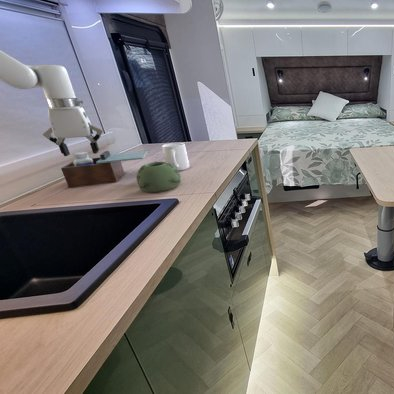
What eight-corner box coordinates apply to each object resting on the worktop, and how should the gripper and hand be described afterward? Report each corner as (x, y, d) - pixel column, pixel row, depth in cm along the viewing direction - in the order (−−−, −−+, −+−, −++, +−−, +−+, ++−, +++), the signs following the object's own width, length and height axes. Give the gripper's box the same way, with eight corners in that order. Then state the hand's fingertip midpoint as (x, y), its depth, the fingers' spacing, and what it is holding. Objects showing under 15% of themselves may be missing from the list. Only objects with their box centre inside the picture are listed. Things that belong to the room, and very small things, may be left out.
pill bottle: (101, 177, 111) (93, 152, 108) (85, 181, 106) (77, 155, 103) (91, 176, 113) (83, 151, 109) (75, 180, 108) (66, 154, 104)
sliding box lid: (96, 163, 104) (94, 157, 103) (106, 155, 115) (104, 150, 114) (142, 159, 109) (140, 152, 109) (148, 152, 120) (146, 146, 119)
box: (68, 187, 103) (60, 168, 100) (81, 177, 114) (74, 159, 111) (116, 181, 108) (110, 163, 106) (124, 172, 119) (118, 155, 116)
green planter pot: (184, 189, 100) (178, 165, 97) (139, 197, 94) (131, 171, 90) (179, 177, 113) (174, 155, 109) (140, 183, 106) (133, 160, 103)
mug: (188, 172, 119) (182, 147, 115) (164, 174, 116) (158, 149, 112) (190, 165, 129) (185, 142, 125) (169, 167, 126) (163, 143, 122)
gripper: (98, 102, 106) (113, 149, 113) (35, 104, 99) (55, 154, 106) (91, 103, 100) (108, 153, 107) (24, 105, 93) (46, 159, 100)
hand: (81, 153), depth 106 cm, fingers open, 7 cm apart
